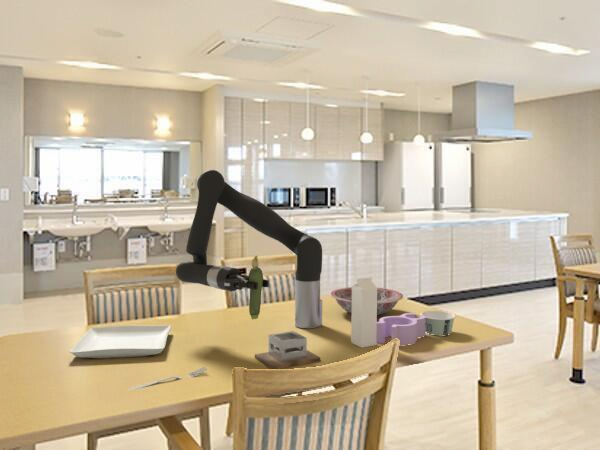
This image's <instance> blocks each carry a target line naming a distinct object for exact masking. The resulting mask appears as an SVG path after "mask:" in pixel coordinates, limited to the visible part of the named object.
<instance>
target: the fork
mask: <svg viewBox="0 0 600 450" xmlns="http://www.w3.org/2000/svg"><path fill="white" fill-rule="evenodd" d="M207 370H208V368H207V367H205V366H202V367H200V368H198V369H196V370H193V371H192V372H190V373H188V374H186V376H187V377H189V378H191V379H192V378H196V377H198V375H199V376H200V375H201V374H203V373H205V372H206V371H207ZM169 379H179V380H183V379H184V378H183V377H182V376H168V377H166V378H165V377H164V378H162V379H160V380H156V381H153V382H148V383H145V384H141V385H137V386H133V387H130V388H128V389H127V391H129V390H130V391H133V390H139V389H142V388H146V387H147V388H148V387H150V386H153V385H155V384H158V383H162V382H164V381H166V380H169Z"/></svg>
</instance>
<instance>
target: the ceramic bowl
mask: <svg viewBox="0 0 600 450" xmlns="http://www.w3.org/2000/svg"><path fill="white" fill-rule="evenodd" d="M330 296H331V298H333V299H335V301H336V303H337V304H338V305H339V307H341V309H343V310H344V311H346V312H348V313H350V314H352V286H350V287H349V286H348V287H343V288H337V289H335V290H332V291H331V292H330ZM403 298H404V294H403V293H402V292H399V291H397V290H394V289H389V288H385V287H384V288H383V287H377V316H378V315H383V314H386V313H388V312H390V311H391V310H392V309H394V308H395V306H396V305H397V304H398V302H399V301H400V300H403Z"/></svg>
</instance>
